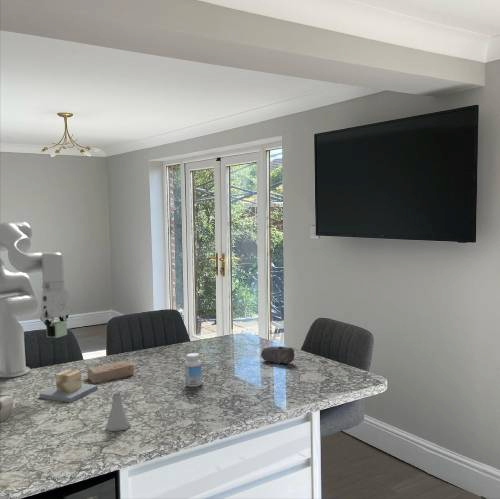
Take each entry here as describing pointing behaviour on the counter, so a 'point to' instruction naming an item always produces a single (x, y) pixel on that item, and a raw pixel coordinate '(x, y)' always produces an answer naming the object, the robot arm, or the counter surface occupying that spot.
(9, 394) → the counter surface
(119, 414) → the flask
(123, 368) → the brick
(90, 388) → the board
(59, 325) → the sage block
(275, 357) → the perforated stone tool
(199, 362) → the pill bottle
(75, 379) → the beech block
